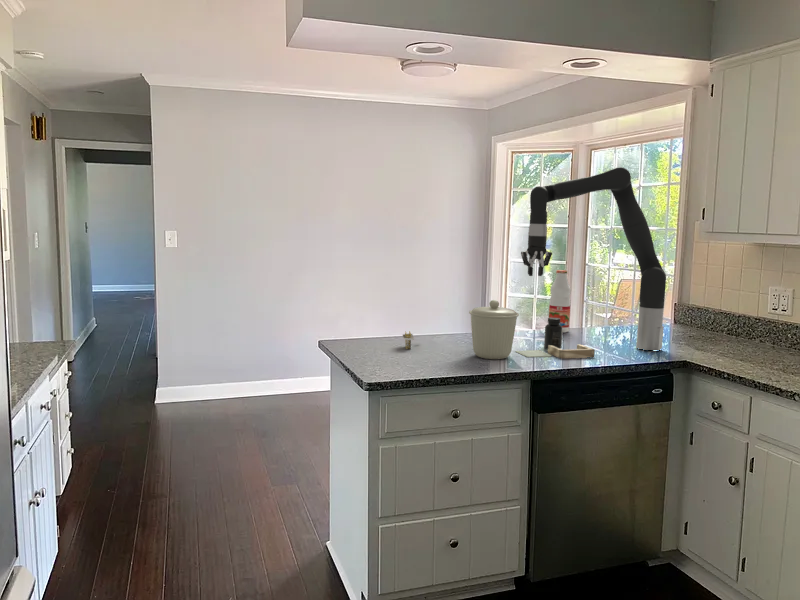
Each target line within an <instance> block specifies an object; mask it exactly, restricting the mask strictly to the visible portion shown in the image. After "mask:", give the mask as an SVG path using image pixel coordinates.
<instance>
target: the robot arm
mask: <svg viewBox="0 0 800 600" xmlns="http://www.w3.org/2000/svg"><path fill="white" fill-rule="evenodd" d="M631 176H632V175H631V173H630V171H629V170H628V169H627V168H625V167H623V166H616V167H614V168H612V169H609V170H607V171H605V172H601V173H599V174H595V175H591V176H586V177H581V178H575V179H569V180H564V181H561V182H560V181H559V182H556V183H554V184H549V185H545V186H543V185H542V186H541V185H539V186H535V187H533V189H532V190H530V191H531V192H530V195H529V205H530V207H529V208H530V214H529V225H528V235H527V239H528V240H527V249H526V250H524V251H521V252H520V255H521V258H522V262H523V265H524V266H526V267H527V275H528V276H530V277H533V273H534V267H533V266H534V263H535V261H536V260H537V262H538V269H537V276H538V277H542V276H543V275H544V268H545V267H547V266H549V263H550V262H551V261H550V260H551V259H552V256H553V252H552V251H548V250H547V248H546V247H547V238H548V211H547V207H548V203H550V202H553V201H558V200H565V199H570V198H571V199H572V198H575V197H578V196H582V195H587V194H589V193H593V192H598V191H607V190H608V191H610V192H611V193H612V195H613V198H614V200H615V202H616V204H617V208H618V214H619V218H620V222H621V226H622V229H623V232H624V235H625V237H626V240H627V242H628V245H629V247H630V249H631V251H633V254H634V255H635V258H636V259H637V263H638V266H639V269H640V275H641V277H640V289H639V306H638V307H639V308H638V320H637V331H636V333H637V334H636V346H635V349H637V348H639V349H644V350H660V349H661V348H662V349H663V342H664V341H663V340H664V339H663V338H664V327H665V326H663V323H664V322H663V320H664V310H665V309H664V308H665V297H666V285H667V275H666V273H665V271H664V269H663V267H662V265H661V263H660V260H659V258H658V256H657V254H656V250H655V245H654V241H653V238H652V234H651V230H650V227H649V224H648V221H647V218H646V216H645V214H644V212H643V211H642V207H640V205H639V203H638V201H637V199H636V196H635V193H634V189H633V185H632V177H631ZM528 256H529V257H528ZM544 256H545V257H544ZM639 349H638V350H639ZM644 350H643V351H644ZM660 351H661V350H660Z"/></svg>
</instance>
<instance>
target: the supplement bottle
mask: <svg viewBox="0 0 800 600" xmlns="http://www.w3.org/2000/svg"><path fill="white" fill-rule="evenodd" d="M562 341H563V333H562V326H561V325H560V318H549V317H548V318H547V324H545V327H544V343H543V344H544V345H543V347H544V348H545V349H547V350H548V345H552V346H555V347H557V348H560V349H562V343H563V342H562Z"/></svg>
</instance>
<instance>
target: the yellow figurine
mask: <svg viewBox="0 0 800 600" xmlns="http://www.w3.org/2000/svg"><path fill="white" fill-rule="evenodd" d="M402 338H403V340H405V341H404V343H405V349H406V350H409V351H411V350H412V349H411V348H412V347H411V346H412V341H413V340H414V339H415V338H414V334H413V333H411V331H410V330H409V333H407V332H406V331H405V333H404V334H402Z"/></svg>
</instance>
